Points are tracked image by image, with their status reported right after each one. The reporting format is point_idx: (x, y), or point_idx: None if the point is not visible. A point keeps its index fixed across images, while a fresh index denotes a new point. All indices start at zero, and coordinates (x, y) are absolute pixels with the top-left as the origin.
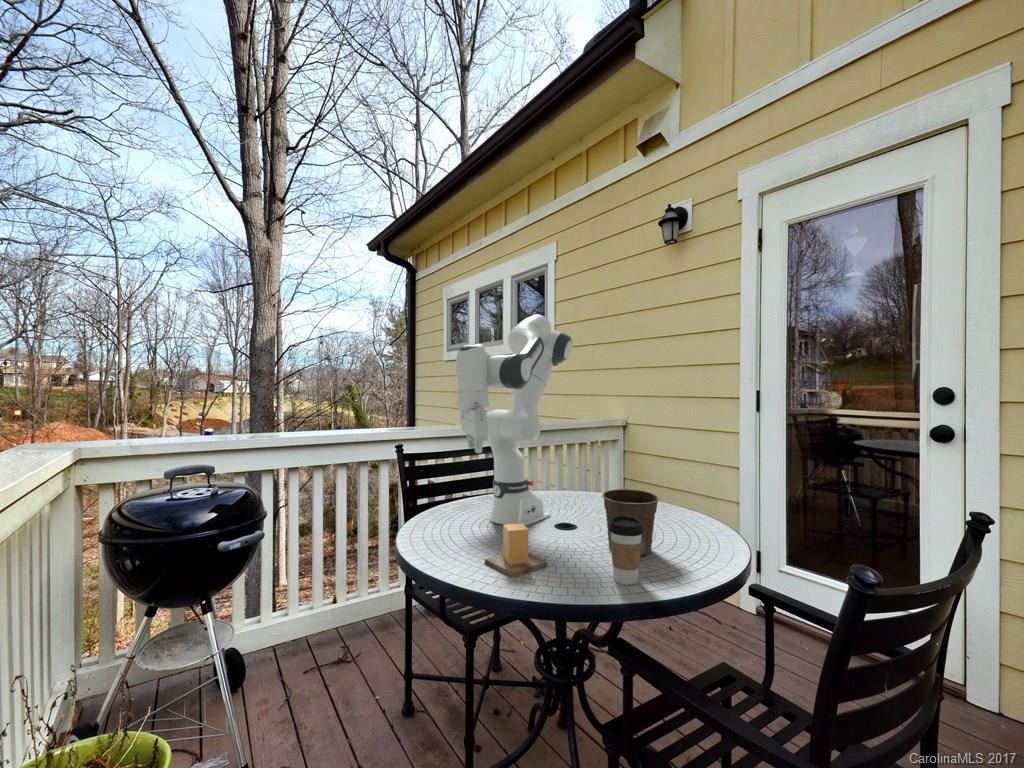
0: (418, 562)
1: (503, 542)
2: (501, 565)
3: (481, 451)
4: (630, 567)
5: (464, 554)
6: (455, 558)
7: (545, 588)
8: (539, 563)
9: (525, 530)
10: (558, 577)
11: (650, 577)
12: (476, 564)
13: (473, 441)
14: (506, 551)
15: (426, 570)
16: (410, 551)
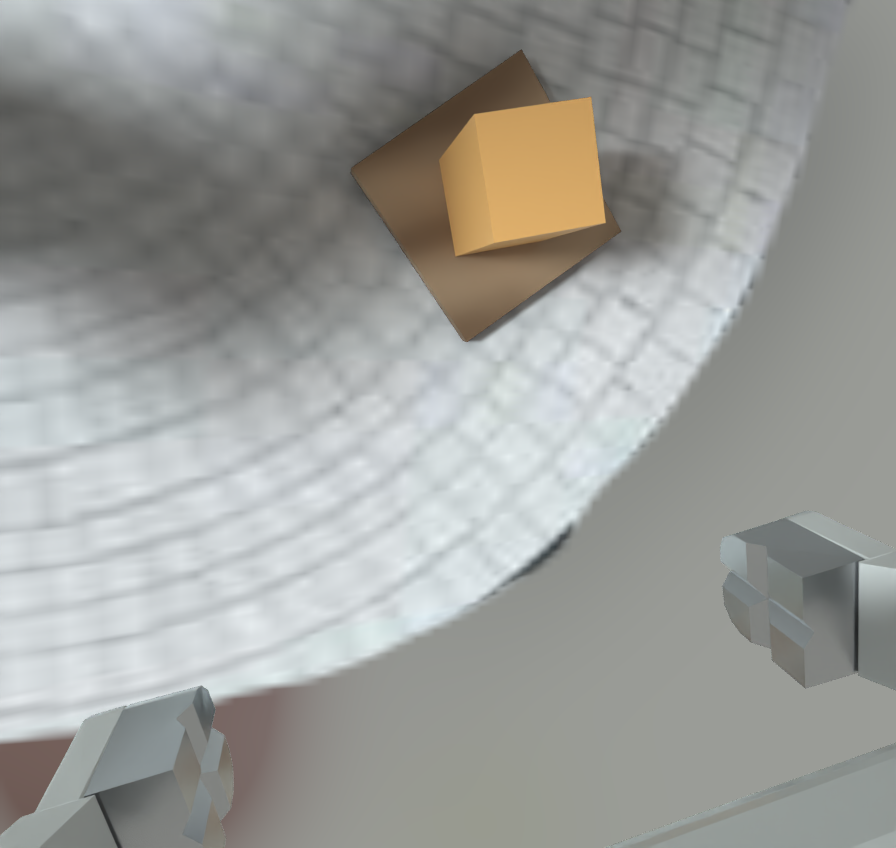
0: (428, 603)
1: (474, 250)
2: (545, 272)
3: (818, 523)
4: None
5: (351, 429)
6: (396, 465)
7: (717, 118)
8: (543, 94)
9: (590, 118)
10: (635, 37)
11: None
12: (469, 375)
13: (122, 806)
14: (524, 242)
15: (508, 560)
16: (303, 657)
